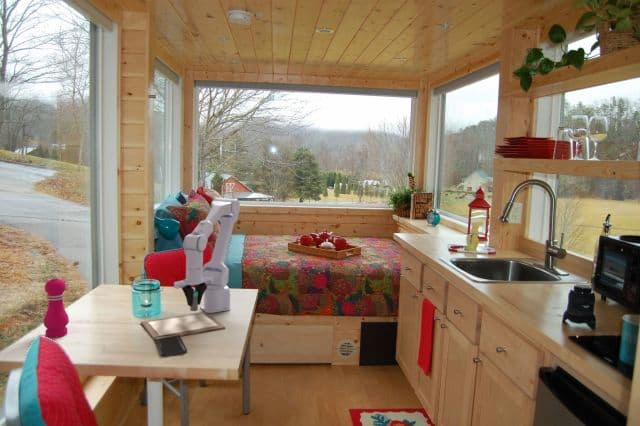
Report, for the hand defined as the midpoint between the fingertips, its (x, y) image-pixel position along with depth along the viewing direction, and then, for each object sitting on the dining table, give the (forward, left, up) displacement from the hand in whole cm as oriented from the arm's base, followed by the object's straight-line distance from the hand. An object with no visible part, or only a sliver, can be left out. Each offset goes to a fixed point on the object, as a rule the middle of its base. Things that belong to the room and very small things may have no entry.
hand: (193, 304), depth 175 cm
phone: (+14, +18, -7) cm, 24 cm away
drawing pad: (+5, +3, -6) cm, 8 cm away
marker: (0, 0, -2) cm, 2 cm away
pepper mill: (+43, -8, -6) cm, 44 cm away
